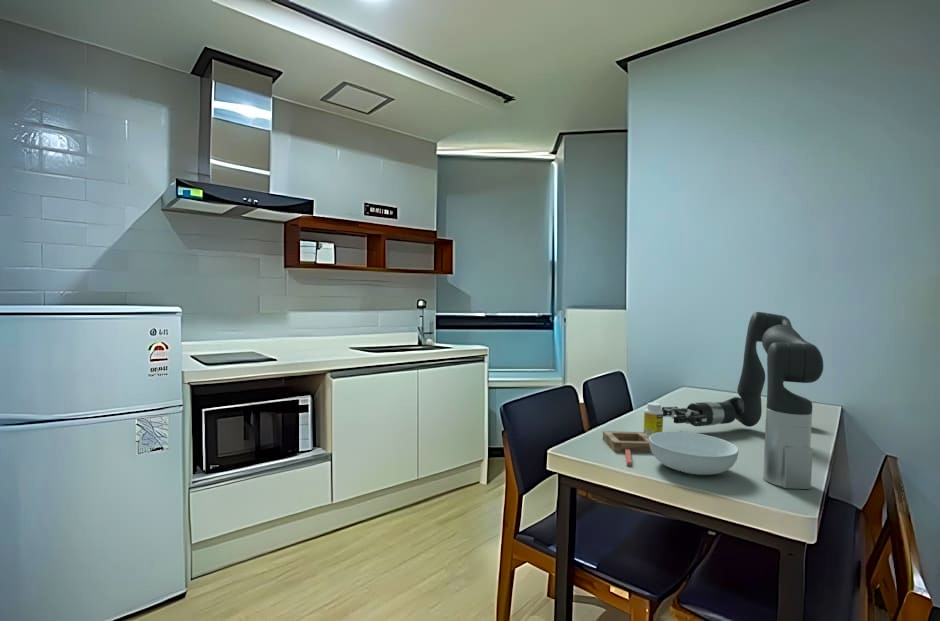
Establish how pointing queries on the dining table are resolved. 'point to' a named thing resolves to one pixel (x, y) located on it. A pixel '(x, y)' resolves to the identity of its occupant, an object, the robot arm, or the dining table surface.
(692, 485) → the dining table surface
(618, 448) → the brown wooden square frame
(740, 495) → the dining table surface
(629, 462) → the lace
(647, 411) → the supplement bottle
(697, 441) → the serving bowl
